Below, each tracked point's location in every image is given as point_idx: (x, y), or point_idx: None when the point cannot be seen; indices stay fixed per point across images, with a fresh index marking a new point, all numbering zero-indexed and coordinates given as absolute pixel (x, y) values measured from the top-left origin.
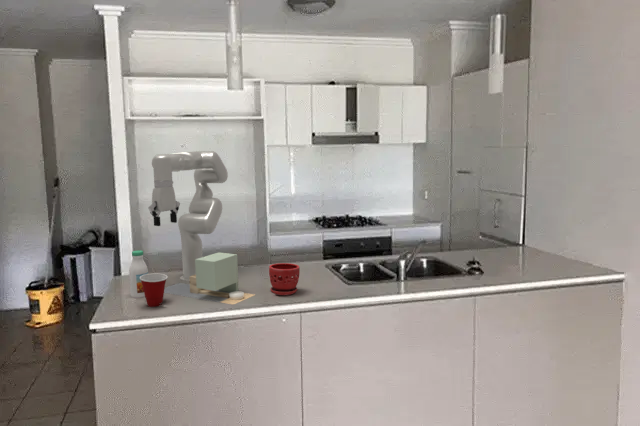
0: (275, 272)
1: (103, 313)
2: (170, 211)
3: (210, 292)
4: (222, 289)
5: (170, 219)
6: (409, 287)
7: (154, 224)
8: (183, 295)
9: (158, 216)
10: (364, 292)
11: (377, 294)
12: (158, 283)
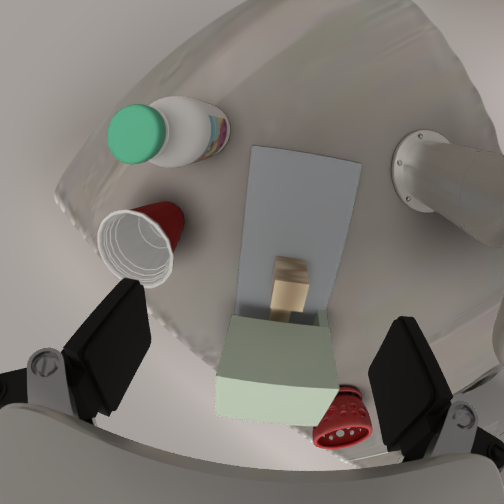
0: (314, 433)
1: (81, 155)
2: (441, 431)
3: (273, 316)
4: (314, 322)
5: (406, 338)
6: (372, 458)
7: (121, 288)
8: (243, 255)
9: (101, 405)
10: (350, 446)
11: (342, 453)
12: (129, 273)
